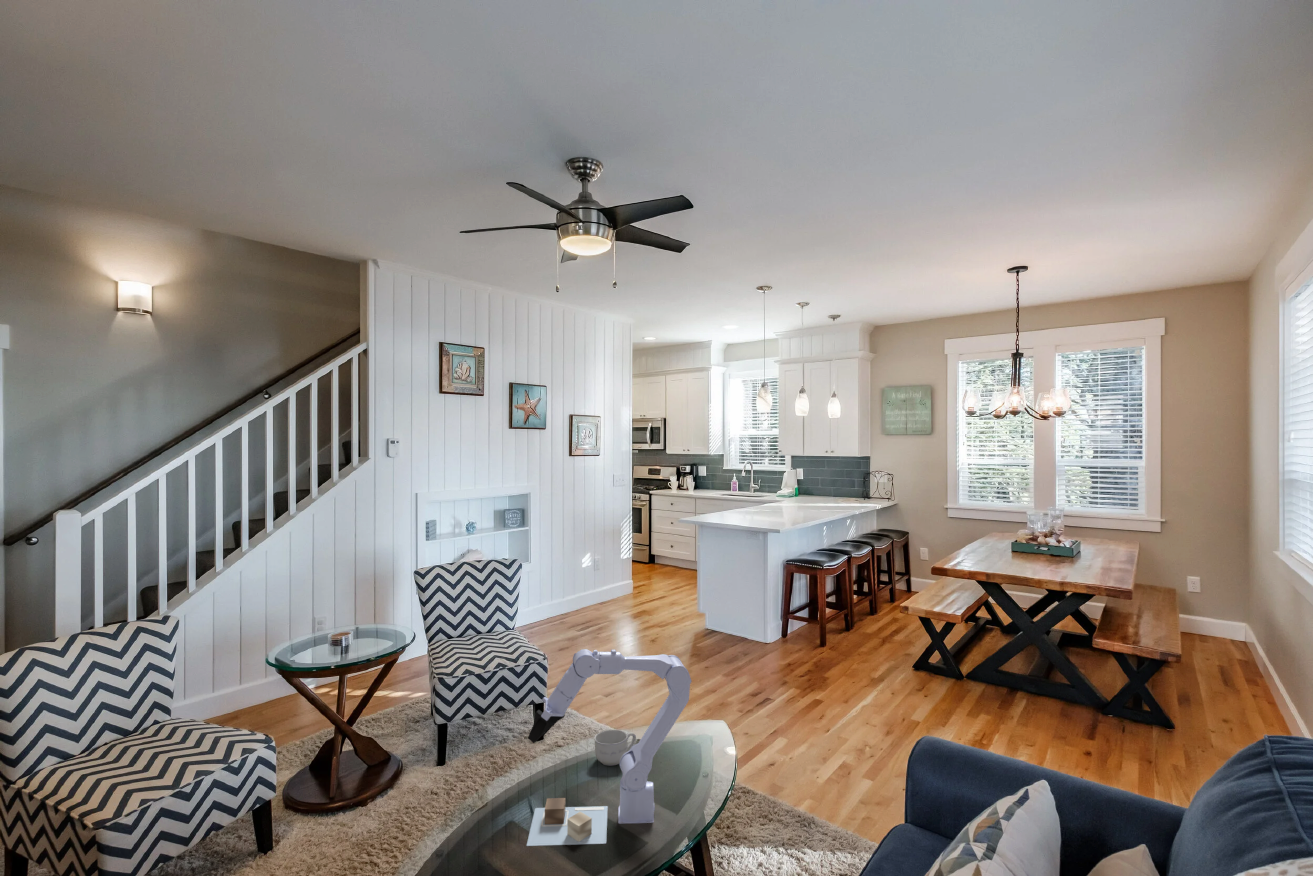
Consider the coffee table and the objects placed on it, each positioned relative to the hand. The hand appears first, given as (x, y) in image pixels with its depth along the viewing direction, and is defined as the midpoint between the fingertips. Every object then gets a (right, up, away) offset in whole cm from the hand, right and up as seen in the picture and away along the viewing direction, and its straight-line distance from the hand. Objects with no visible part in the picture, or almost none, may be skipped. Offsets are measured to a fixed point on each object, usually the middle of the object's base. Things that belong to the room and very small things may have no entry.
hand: (535, 737), depth 164 cm
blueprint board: (+9, -24, 0) cm, 26 cm away
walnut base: (+5, -23, +3) cm, 24 cm away
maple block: (+12, -23, -3) cm, 27 cm away
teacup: (+19, -24, +35) cm, 47 cm away
